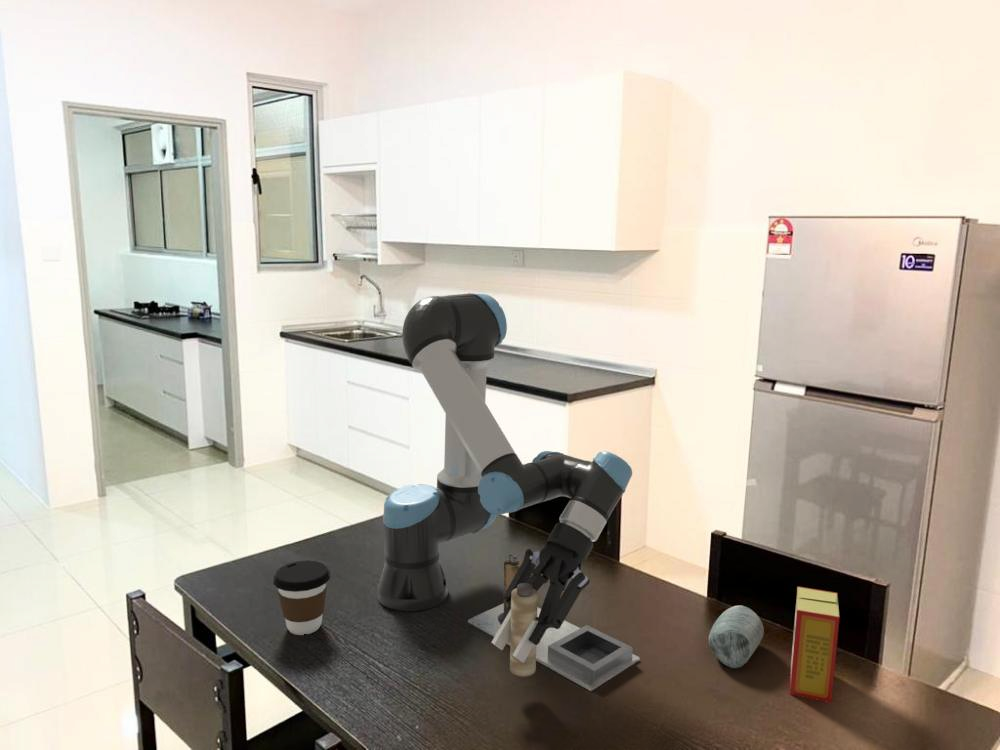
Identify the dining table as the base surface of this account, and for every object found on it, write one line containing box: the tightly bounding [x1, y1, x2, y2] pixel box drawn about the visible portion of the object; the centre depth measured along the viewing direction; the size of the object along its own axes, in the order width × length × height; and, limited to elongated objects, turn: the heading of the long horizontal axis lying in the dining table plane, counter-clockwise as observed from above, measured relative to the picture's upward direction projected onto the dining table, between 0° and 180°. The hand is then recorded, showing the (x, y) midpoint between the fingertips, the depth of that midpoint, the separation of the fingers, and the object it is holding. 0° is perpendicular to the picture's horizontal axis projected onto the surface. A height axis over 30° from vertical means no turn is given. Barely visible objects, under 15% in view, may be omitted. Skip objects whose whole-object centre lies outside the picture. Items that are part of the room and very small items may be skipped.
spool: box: [708, 605, 765, 669], centre depth 142 cm, size 14×10×10 cm
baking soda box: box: [789, 586, 840, 703], centre depth 132 cm, size 10×6×16 cm
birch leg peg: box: [509, 583, 539, 677], centre depth 128 cm, size 4×4×15 cm
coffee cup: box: [272, 560, 331, 636], centre depth 151 cm, size 11×11×12 cm
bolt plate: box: [467, 553, 640, 692], centre depth 146 cm, size 32×14×14 cm, turn 44°
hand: (507, 652), depth 126 cm, fingers closed on birch leg peg, 4 cm apart
